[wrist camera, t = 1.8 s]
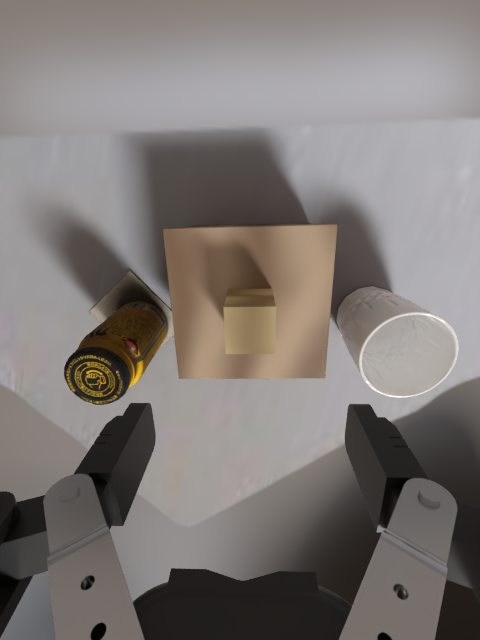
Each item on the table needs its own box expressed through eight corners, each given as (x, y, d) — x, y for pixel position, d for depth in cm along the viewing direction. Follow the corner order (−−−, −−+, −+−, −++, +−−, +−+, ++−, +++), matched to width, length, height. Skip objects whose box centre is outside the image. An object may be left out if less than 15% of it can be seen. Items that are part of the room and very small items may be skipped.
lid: (183, 368, 30) (166, 409, 24) (168, 227, 25) (143, 235, 20) (320, 367, 30) (337, 410, 24) (331, 223, 25) (356, 230, 19)
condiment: (144, 361, 38) (99, 428, 27) (89, 311, 36) (16, 362, 25) (186, 324, 36) (157, 380, 25) (130, 269, 34) (72, 304, 23)
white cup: (321, 297, 35) (346, 334, 25) (392, 268, 33) (448, 296, 24) (343, 356, 37) (373, 409, 28) (410, 332, 36) (467, 379, 26)
